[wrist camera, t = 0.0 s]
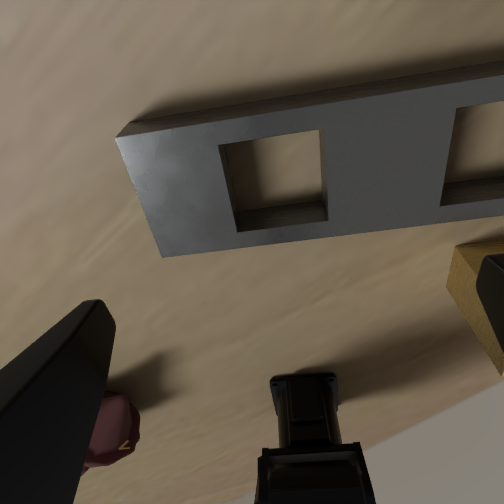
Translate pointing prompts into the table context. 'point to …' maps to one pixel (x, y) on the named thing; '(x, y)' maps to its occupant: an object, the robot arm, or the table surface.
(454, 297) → the brass peg
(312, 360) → the table surface
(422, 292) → the table surface
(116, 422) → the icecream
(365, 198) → the rail
